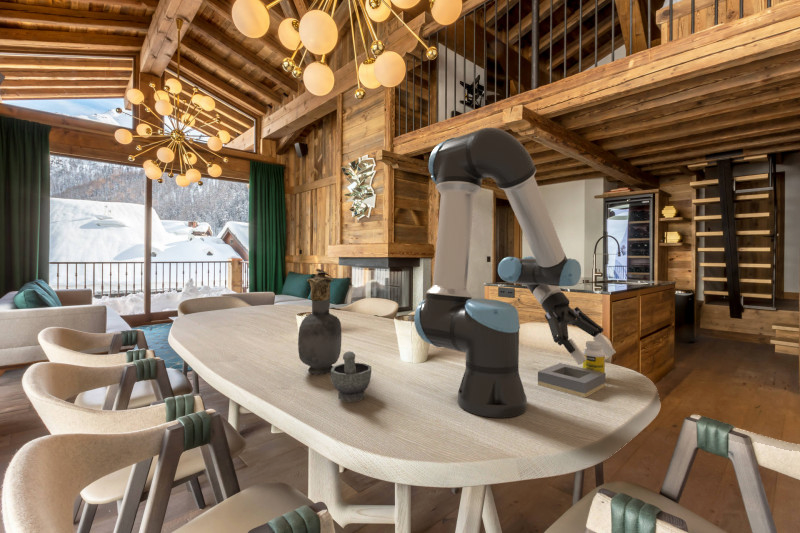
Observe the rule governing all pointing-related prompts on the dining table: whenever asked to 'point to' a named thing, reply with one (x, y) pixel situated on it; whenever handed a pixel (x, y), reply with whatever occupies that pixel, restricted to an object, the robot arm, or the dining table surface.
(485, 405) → the robot arm
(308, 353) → the dark decorative bottle
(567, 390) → the socket block
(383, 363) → the dining table surface
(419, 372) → the dining table surface
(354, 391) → the mortar and pestle
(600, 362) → the supplement bottle
